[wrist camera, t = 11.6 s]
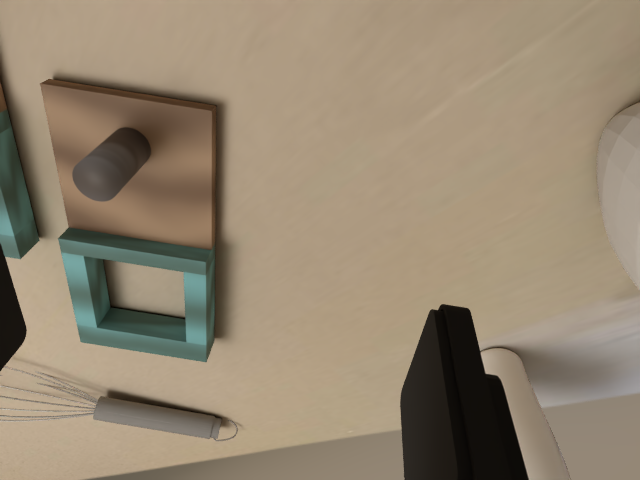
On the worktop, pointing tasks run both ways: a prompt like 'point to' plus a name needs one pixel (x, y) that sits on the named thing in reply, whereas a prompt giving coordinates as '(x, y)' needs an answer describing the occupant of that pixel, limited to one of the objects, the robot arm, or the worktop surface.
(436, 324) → the robot arm
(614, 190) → the soap bottle
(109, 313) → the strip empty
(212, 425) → the kitchen whisk
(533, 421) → the drinking glass
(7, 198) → the brown and teal tray
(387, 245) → the worktop surface
